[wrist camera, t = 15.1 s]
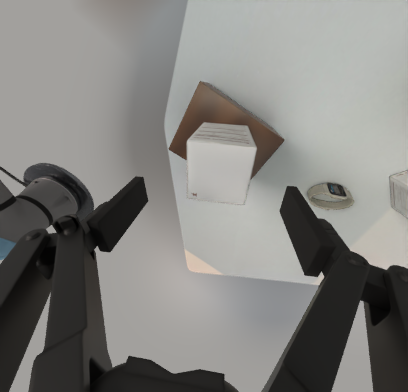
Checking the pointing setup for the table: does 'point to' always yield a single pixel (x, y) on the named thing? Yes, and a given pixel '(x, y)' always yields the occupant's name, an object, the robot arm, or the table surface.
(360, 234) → the table surface
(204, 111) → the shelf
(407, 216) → the supplement box
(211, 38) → the table surface
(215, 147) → the white packaging box
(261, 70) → the table surface
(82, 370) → the robot arm
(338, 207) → the wristwatch
